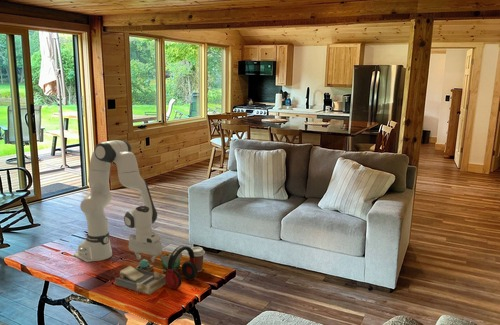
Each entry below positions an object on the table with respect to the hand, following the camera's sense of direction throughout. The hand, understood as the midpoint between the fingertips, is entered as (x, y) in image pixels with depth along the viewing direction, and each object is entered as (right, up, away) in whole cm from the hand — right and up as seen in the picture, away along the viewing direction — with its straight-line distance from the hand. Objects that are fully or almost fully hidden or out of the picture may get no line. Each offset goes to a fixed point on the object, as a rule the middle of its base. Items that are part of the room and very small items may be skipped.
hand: (145, 260), depth 217 cm
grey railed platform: (-2, -8, -12) cm, 15 cm away
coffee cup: (+27, -6, +3) cm, 28 cm away
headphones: (+22, -9, -13) cm, 27 cm away
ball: (-1, -2, 0) cm, 2 cm away
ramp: (-4, -6, -12) cm, 14 cm away
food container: (+15, -6, 0) cm, 16 cm away
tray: (+8, -9, -17) cm, 21 cm away
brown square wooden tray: (-1, -6, +1) cm, 6 cm away
